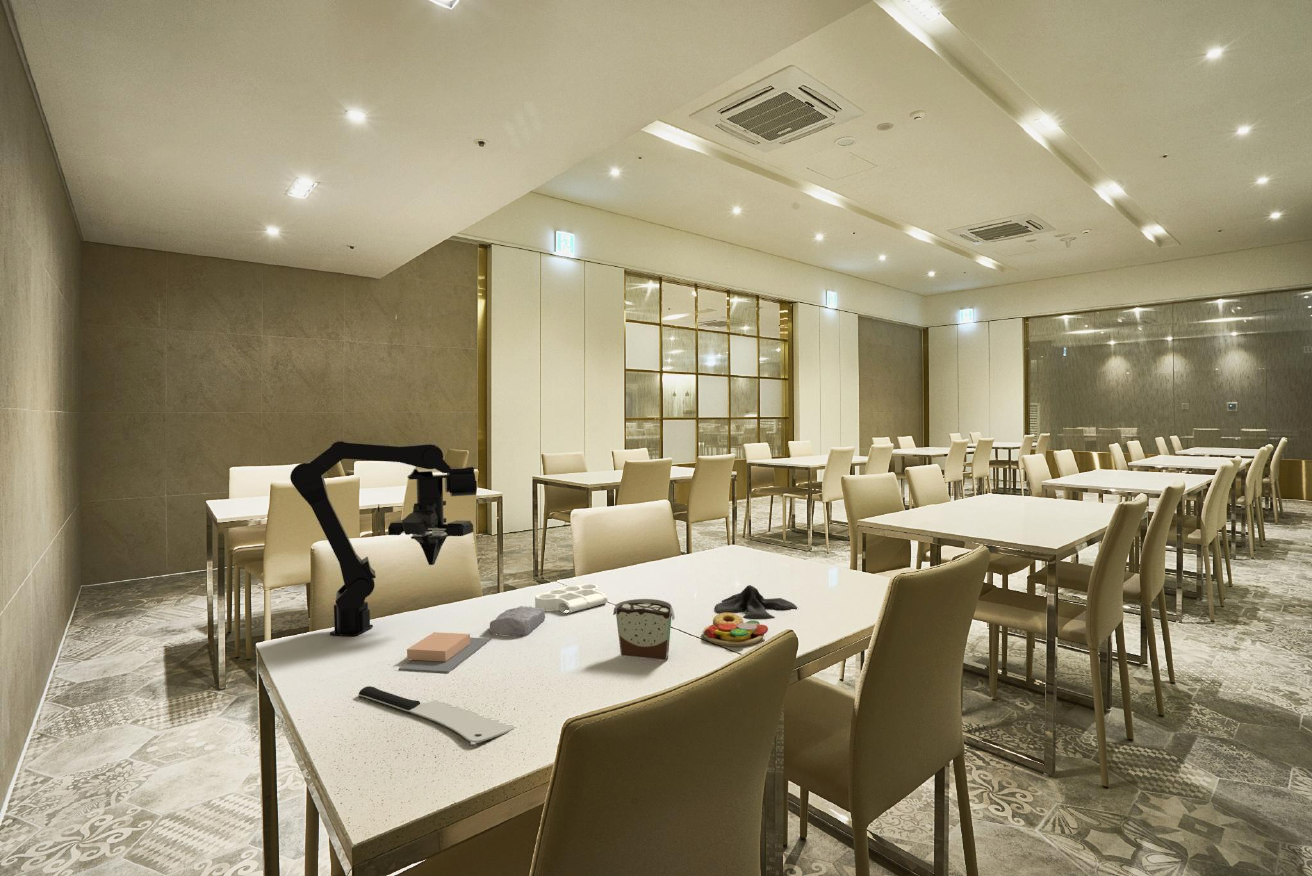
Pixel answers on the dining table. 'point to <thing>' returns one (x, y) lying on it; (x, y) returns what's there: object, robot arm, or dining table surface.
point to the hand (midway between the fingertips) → (431, 564)
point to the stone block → (518, 621)
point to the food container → (644, 628)
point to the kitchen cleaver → (441, 715)
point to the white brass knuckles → (571, 598)
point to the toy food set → (734, 630)
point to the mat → (449, 664)
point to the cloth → (752, 604)
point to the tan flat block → (438, 647)
